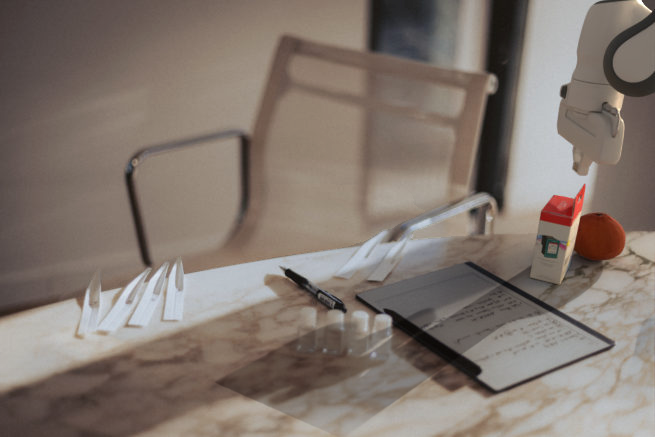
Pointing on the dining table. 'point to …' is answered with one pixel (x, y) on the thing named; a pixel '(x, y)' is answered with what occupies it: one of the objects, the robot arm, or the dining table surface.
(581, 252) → the fruit
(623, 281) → the dining table surface
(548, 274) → the ink box
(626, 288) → the dining table surface
